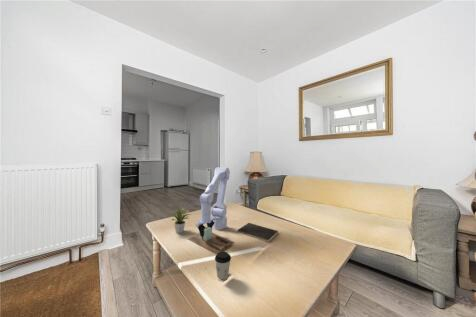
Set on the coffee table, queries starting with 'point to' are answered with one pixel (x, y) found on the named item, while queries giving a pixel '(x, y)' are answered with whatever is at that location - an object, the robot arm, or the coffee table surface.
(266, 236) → the hardcover book
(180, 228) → the house plant
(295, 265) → the coffee table surface
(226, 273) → the coffee cup
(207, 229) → the sage block
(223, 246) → the shelf
